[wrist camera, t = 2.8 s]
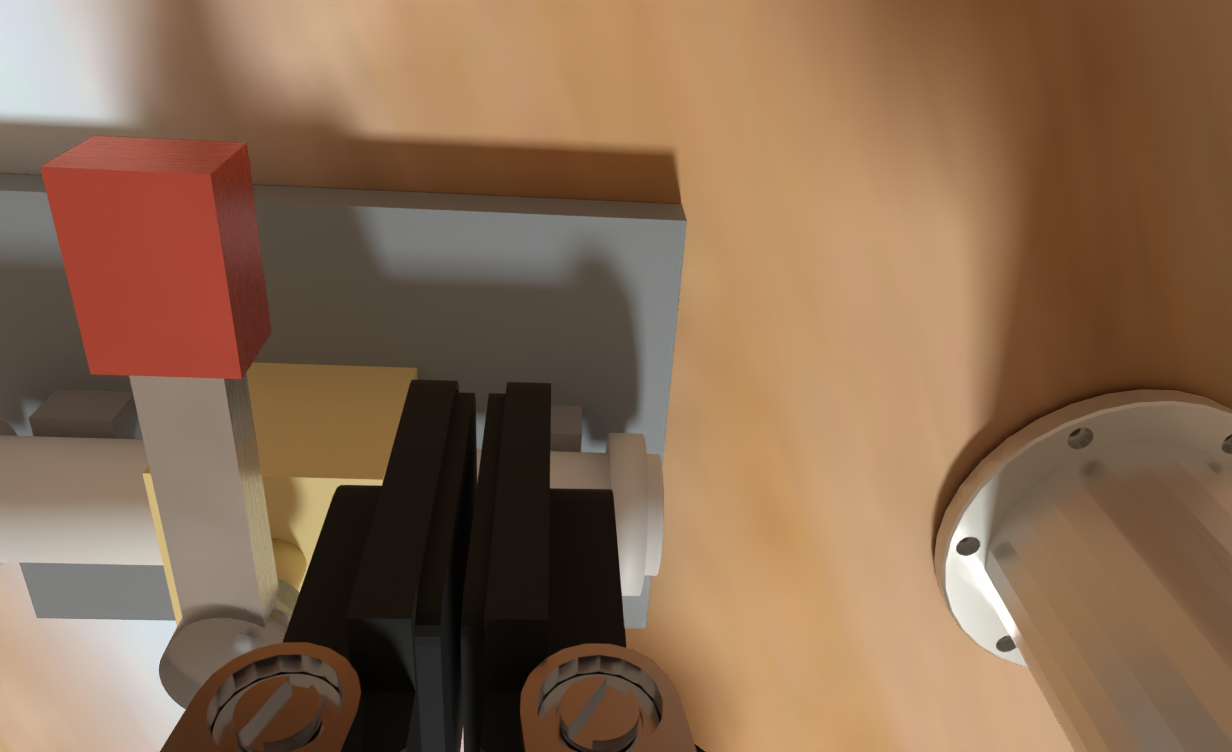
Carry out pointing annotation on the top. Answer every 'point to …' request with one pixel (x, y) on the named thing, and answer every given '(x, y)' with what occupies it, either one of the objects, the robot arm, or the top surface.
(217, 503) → the lever
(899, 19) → the top surface
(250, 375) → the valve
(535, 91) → the top surface
